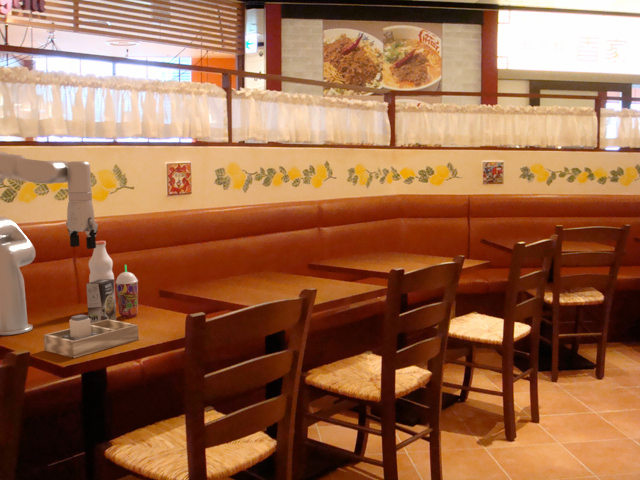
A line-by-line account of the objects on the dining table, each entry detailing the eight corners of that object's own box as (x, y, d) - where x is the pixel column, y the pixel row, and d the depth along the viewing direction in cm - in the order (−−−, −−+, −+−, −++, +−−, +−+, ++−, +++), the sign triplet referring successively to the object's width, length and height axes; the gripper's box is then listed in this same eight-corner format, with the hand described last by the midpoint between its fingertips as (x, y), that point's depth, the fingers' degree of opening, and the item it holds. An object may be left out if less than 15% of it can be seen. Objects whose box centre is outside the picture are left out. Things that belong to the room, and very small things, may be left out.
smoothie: (128, 319, 248) (124, 267, 246) (112, 317, 253) (109, 265, 250) (144, 315, 255) (141, 263, 253) (129, 313, 260) (126, 262, 257)
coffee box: (104, 327, 237) (101, 283, 235) (88, 327, 239) (85, 283, 237) (117, 321, 246) (114, 278, 244) (101, 321, 248) (98, 278, 246)
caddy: (44, 350, 210) (43, 334, 209) (108, 333, 229) (107, 319, 229) (74, 358, 201) (73, 341, 200) (138, 339, 220) (137, 324, 219)
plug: (71, 344, 211) (69, 316, 210) (83, 341, 215) (81, 313, 214) (79, 346, 209) (77, 318, 207) (91, 343, 212) (90, 315, 211)
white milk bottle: (96, 308, 270) (92, 240, 266) (119, 308, 269) (115, 239, 266) (87, 313, 260) (82, 243, 257) (111, 313, 260) (106, 242, 257)
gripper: (56, 197, 228) (59, 247, 230) (85, 199, 218) (88, 250, 220) (75, 196, 234) (78, 244, 236) (104, 197, 223) (107, 248, 226)
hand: (83, 247), depth 228 cm, fingers open, 9 cm apart
